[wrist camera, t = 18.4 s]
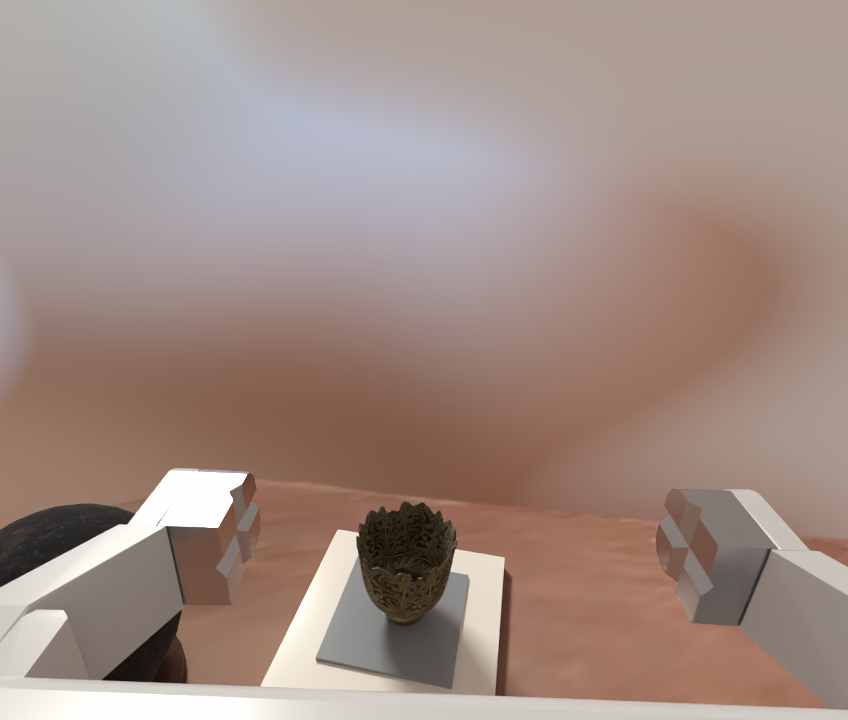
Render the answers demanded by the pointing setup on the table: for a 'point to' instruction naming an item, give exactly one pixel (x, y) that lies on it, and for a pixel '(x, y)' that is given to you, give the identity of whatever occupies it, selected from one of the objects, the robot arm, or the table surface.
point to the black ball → (65, 530)
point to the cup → (406, 560)
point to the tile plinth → (393, 632)
